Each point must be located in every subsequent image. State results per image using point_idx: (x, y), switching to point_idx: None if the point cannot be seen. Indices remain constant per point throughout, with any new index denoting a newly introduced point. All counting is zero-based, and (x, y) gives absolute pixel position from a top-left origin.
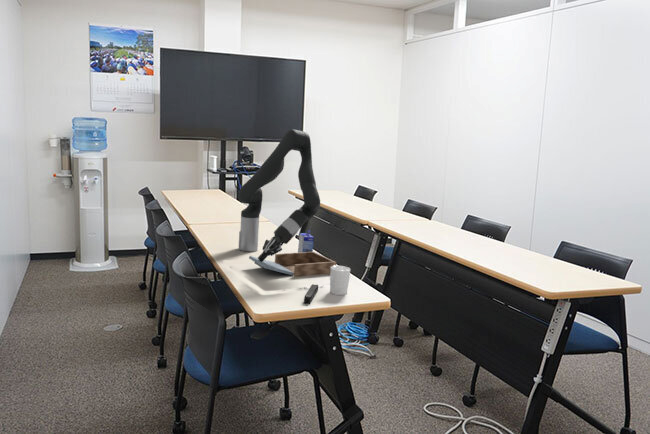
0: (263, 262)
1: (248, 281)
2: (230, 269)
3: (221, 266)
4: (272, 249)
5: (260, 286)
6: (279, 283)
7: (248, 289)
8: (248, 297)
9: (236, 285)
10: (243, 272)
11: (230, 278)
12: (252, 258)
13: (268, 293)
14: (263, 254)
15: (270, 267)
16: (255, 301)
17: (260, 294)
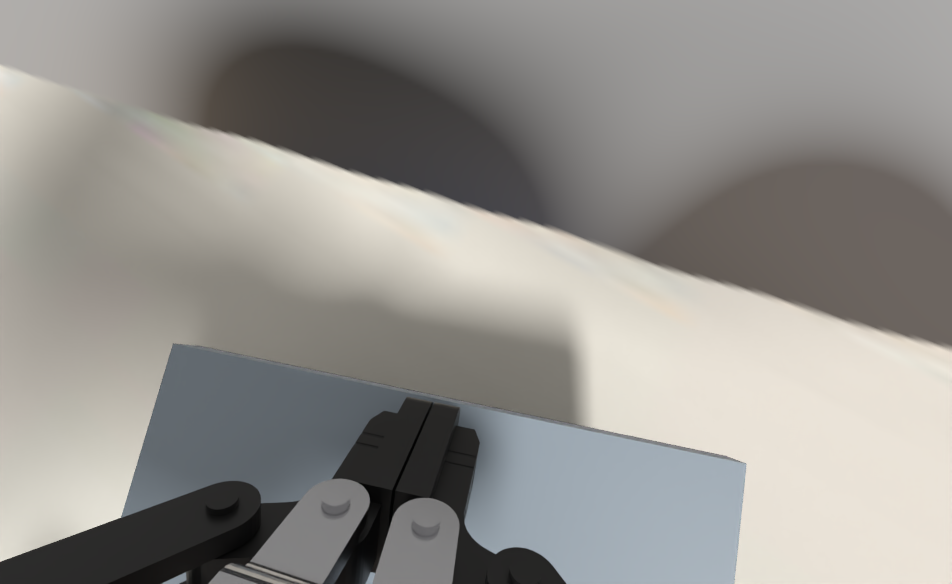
0: None
1: (364, 286)
2: (769, 353)
3: (895, 336)
4: (58, 547)
5: (200, 291)
6: None
7: (215, 188)
8: (105, 116)
9: (338, 172)
10: (630, 404)
11: (506, 218)
12: (617, 435)
13: (43, 246)
14: (374, 461)
15: (159, 421)
16: (25, 111)
17: (78, 194)
